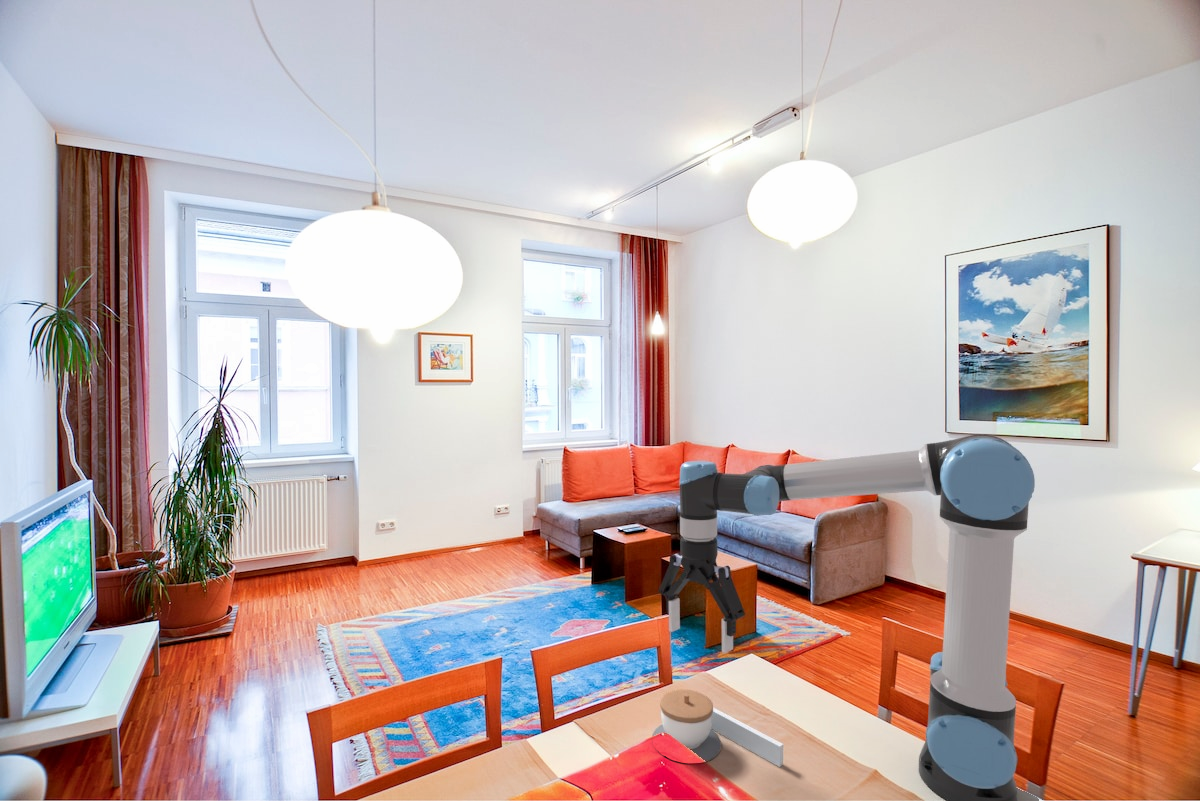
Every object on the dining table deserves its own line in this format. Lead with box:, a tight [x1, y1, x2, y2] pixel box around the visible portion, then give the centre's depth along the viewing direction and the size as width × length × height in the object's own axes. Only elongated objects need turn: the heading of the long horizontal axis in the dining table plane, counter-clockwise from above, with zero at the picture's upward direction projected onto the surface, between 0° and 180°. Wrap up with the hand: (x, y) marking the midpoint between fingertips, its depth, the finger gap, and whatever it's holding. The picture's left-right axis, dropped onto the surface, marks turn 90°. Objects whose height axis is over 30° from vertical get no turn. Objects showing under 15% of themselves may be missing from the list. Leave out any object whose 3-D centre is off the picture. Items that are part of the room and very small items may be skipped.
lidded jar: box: [659, 689, 714, 749], centre depth 117 cm, size 11×11×9 cm
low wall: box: [711, 707, 784, 768], centre depth 117 cm, size 22×1×4 cm, turn 41°
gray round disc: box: [651, 723, 722, 763], centre depth 117 cm, size 14×14×1 cm
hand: (699, 640), depth 117 cm, fingers open, 13 cm apart
